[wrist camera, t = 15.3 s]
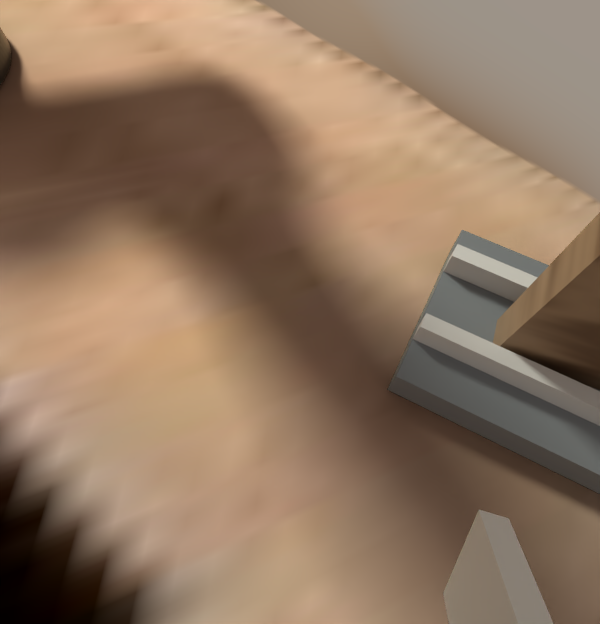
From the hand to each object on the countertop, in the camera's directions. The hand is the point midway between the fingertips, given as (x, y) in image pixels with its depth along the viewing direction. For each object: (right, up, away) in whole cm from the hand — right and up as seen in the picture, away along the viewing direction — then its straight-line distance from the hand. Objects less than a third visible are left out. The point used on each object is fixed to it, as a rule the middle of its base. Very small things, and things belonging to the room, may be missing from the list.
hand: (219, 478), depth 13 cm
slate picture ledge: (+19, 0, +20) cm, 27 cm away
